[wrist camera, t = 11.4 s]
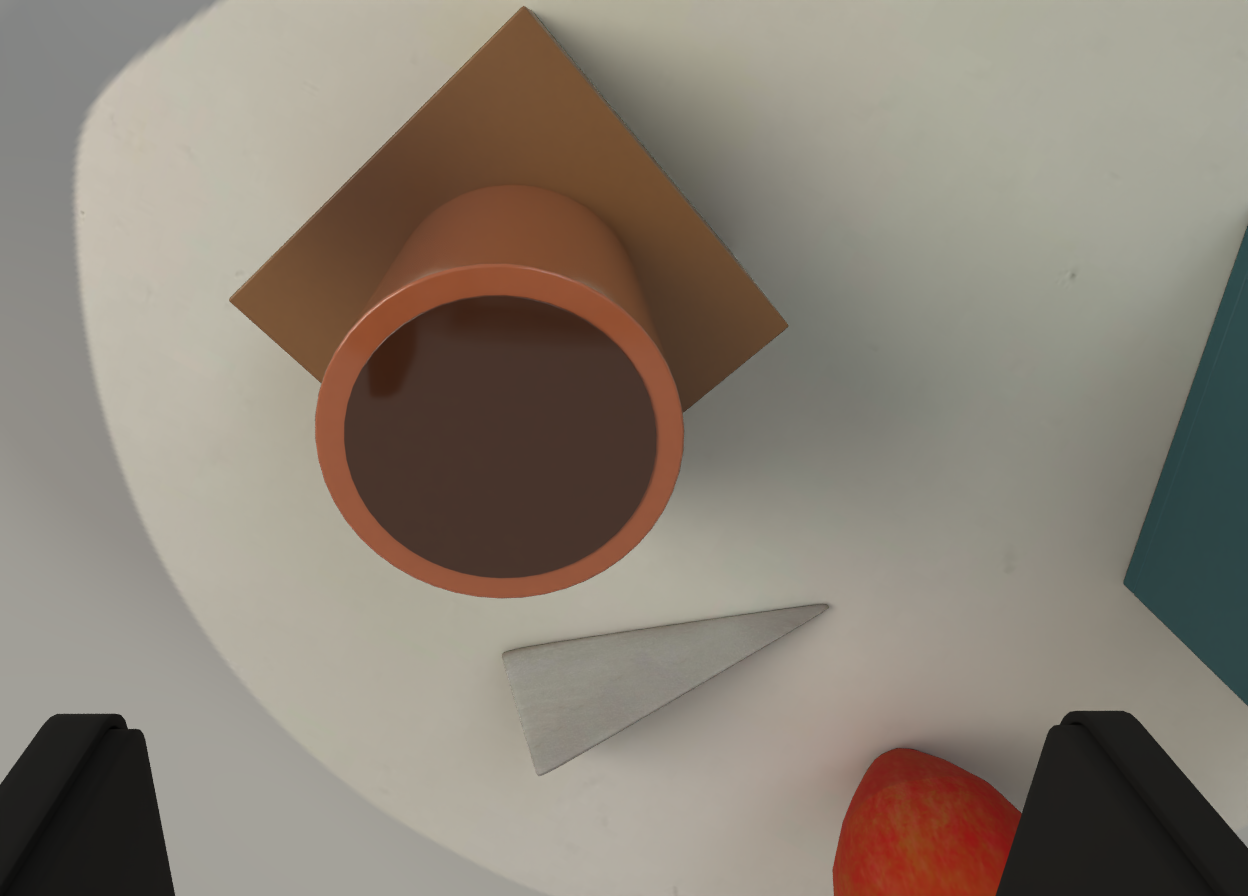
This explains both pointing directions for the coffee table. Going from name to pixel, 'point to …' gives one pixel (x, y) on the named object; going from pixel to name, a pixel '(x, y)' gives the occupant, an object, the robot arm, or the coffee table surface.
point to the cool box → (1206, 504)
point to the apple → (923, 831)
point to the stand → (516, 155)
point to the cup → (503, 401)
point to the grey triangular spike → (627, 676)
